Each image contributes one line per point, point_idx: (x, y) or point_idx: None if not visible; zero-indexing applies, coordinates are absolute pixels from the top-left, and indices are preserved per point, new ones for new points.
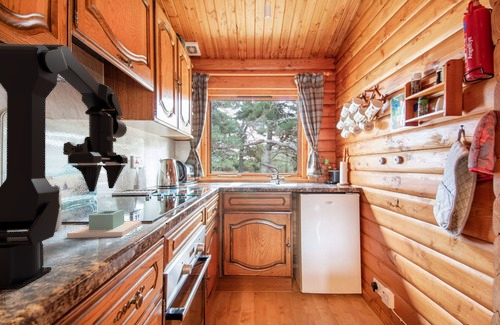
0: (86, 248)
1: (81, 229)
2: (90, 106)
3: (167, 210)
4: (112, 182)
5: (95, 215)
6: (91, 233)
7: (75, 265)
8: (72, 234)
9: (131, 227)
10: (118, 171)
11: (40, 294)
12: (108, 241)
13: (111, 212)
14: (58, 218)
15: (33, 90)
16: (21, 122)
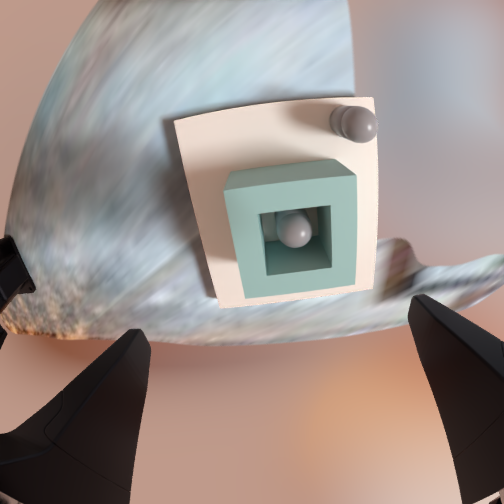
0: (114, 269)
1: (235, 131)
2: None
3: None
4: (425, 356)
5: (231, 223)
6: (195, 212)
7: (60, 308)
8: (179, 141)
9: (286, 299)
10: (455, 455)
11: (18, 319)
12: (172, 287)
13: (329, 238)
14: None
15: None
16: None
